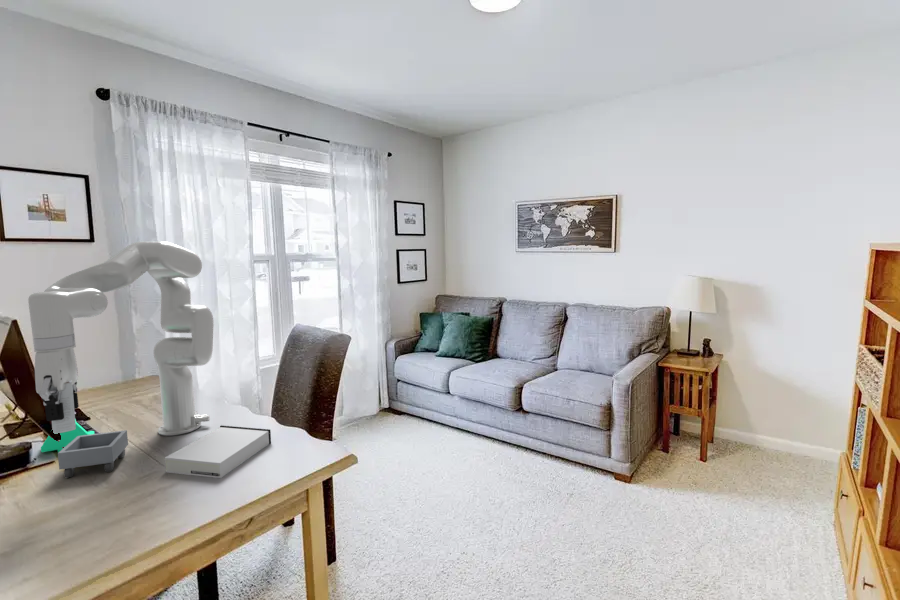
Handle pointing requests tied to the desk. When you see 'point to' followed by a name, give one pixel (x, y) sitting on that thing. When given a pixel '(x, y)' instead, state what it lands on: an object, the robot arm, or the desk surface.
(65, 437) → the camera mount
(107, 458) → the grey square tray
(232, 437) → the disc drive
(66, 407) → the skincare box
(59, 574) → the desk surface
